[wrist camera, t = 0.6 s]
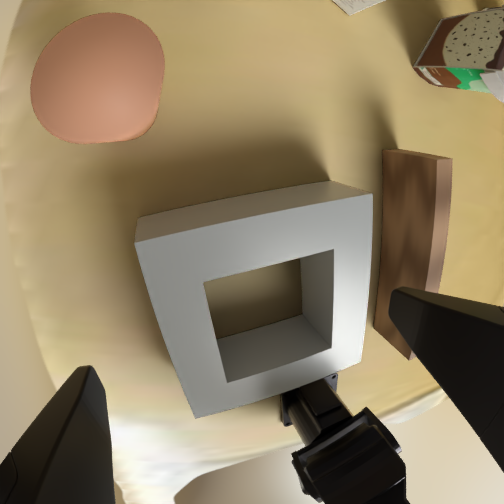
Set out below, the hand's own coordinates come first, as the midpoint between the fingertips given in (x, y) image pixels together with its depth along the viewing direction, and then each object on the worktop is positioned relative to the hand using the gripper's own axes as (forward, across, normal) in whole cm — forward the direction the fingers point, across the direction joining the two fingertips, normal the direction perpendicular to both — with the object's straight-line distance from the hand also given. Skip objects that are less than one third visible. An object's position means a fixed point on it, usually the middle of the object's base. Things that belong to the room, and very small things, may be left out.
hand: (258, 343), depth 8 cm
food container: (+14, -26, -13) cm, 32 cm away
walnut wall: (+14, -17, +6) cm, 23 cm away
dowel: (+13, +3, -8) cm, 16 cm away
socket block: (+14, -4, +6) cm, 15 cm away
